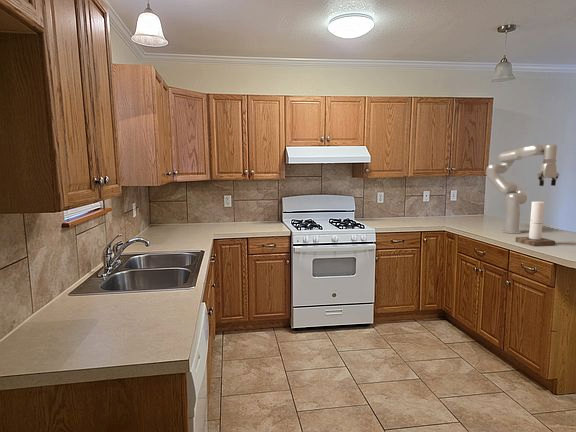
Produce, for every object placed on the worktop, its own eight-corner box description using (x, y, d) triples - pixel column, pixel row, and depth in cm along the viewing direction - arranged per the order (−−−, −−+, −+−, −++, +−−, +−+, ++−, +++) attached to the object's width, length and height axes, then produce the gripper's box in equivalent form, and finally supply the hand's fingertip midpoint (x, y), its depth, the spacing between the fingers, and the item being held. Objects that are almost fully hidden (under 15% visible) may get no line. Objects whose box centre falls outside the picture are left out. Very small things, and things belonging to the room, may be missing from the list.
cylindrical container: (536, 237, 258) (539, 201, 255) (543, 239, 251) (547, 202, 248) (526, 237, 258) (529, 201, 254) (533, 239, 251) (536, 202, 247)
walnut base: (515, 241, 261) (515, 236, 261) (535, 240, 264) (536, 235, 263) (533, 246, 246) (534, 241, 245) (554, 245, 248) (555, 240, 248)
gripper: (555, 162, 273) (553, 185, 275) (534, 162, 271) (532, 185, 273) (564, 161, 266) (562, 185, 268) (542, 162, 263) (540, 186, 266)
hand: (547, 185), depth 271 cm, fingers open, 9 cm apart
